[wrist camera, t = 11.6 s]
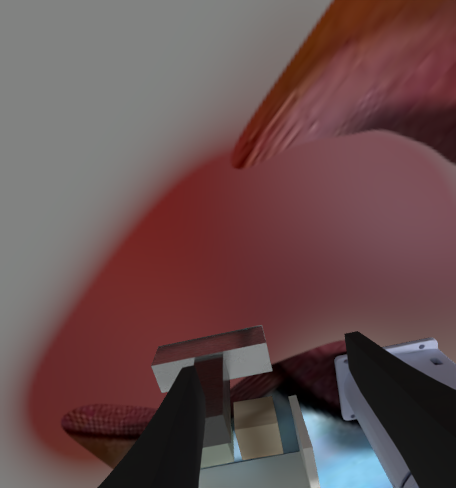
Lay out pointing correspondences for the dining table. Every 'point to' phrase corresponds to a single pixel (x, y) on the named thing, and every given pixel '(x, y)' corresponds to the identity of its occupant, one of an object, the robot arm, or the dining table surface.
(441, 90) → the dining table surface
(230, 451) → the pale green block
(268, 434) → the chip
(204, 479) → the corral
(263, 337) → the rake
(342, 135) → the dining table surface
